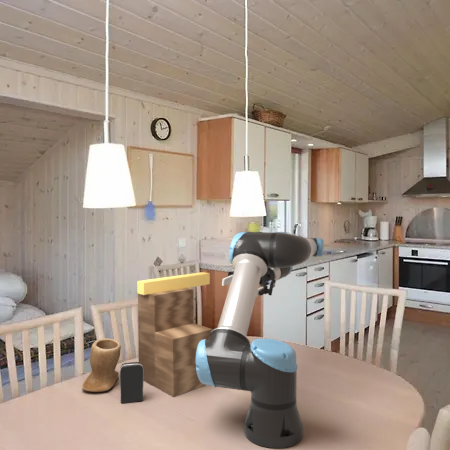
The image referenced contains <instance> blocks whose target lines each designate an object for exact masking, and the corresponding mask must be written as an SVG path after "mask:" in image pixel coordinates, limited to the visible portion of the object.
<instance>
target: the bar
mask: <svg viewBox="0 0 450 450" xmlns="http://www.w3.org/2000/svg"><path fill="white" fill-rule="evenodd" d="M210 275H211V274H210V272H206V271H205V272H204V271H201V272H193V273H187V274H180V275H179V274H178V275H172V276H165V277H158V278H149V279H144V280H143V279H142V280H137V286H136V288H137V291H136V292H137V294H138V293H139V294H142V295H147V294H153V293H159V292H165V291H171V290H178V289H184V288H195V287H201V286H207V285H210V284H211V282H210V281H211V276H210Z"/></svg>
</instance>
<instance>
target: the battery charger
mask: <svg viewBox="0 0 450 450" xmlns="http://www.w3.org/2000/svg"><path fill="white" fill-rule="evenodd" d="M143 380H144V376H143V366H142V364H141V363H140V362H139V361H133V362H124V363H122V364H121V365H120V369H119V390H120V403H121V404H127V403H129V404H130V403H137V402H142V401H144V381H143Z"/></svg>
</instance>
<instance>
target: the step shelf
mask: <svg viewBox="0 0 450 450" xmlns="http://www.w3.org/2000/svg"><path fill="white" fill-rule="evenodd" d="M194 305H195V304H194V288H192V287H190V288H184V289H178V290H171V291H165V292H159V293H153V294H147V295H142V294H139V293H137V310H138V311H137V319H138V320H137V324H138V325H137V331H138V332H137V333H138V335H137V336H138V339H137V340H138V362H140V363H141V364H142V366H143V376H144V380H143V382H146V383H147V384H148V385H150V386H152V387H154V388H156V389H158V390H159V391H162V392H163V393H165V394H167V395H169V396H171V397H172V398H175V397H177V396H180V395H182V394H185V393H188V392H191V391H194V390H196V389H199V388H202V387H204V386H206V385H205V384H203V383H201V382H200V380H199V378H198V376H197V372H196V351H197V346H198V344H199V342H200V341H201V340H204V339H206V340H208V339H209V335H210V333H211V331H212V330H213V328H210V327H207V326H204V325H201V324H198V323H195V321H194V314H195V311H194V309H195V307H194Z"/></svg>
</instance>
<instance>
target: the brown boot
mask: <svg viewBox="0 0 450 450" xmlns="http://www.w3.org/2000/svg"><path fill="white" fill-rule="evenodd" d="M121 349H122V345H121V344H120V342H119V341H117V340H115V339H112V338H107V337H106V338H100V339H97V340H95V341H94V342H93V343H92V345H91V348H90V354H89V362H90V363H89V364H90V367H91V372H90V373H89V375H87V377H86V379H85V380H84V381H83V384H82V385H81V386H82V387H81V388H82V389H83V391H86V392H93V393H96V392H97V393H99V392H100V393H101V392H106V391H109V390H111V389H112V387H113V386H114V384H115V383H116V381H117V379H118V377H119V376H120V372H118V371H117V370H116V367H117V365H118V362H119V360H120V357H121Z"/></svg>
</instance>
